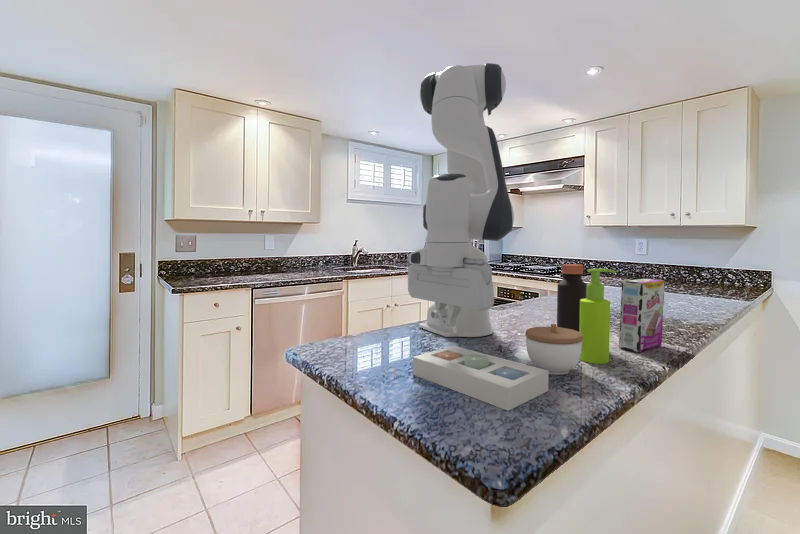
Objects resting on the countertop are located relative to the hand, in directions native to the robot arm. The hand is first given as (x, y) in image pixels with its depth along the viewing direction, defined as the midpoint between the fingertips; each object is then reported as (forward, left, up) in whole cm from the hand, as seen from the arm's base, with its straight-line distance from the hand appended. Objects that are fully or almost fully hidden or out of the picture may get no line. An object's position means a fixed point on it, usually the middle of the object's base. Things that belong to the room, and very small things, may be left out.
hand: (447, 325), depth 78 cm
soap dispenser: (+17, +30, -10) cm, 35 cm away
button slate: (+15, 0, -9) cm, 17 cm away
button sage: (+8, 0, -8) cm, 11 cm away
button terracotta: (+1, 0, -9) cm, 9 cm away
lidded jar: (+14, +17, -10) cm, 24 cm away
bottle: (+7, +39, -10) cm, 40 cm away
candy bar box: (+20, +48, -10) cm, 52 cm away
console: (+8, 0, -9) cm, 12 cm away
